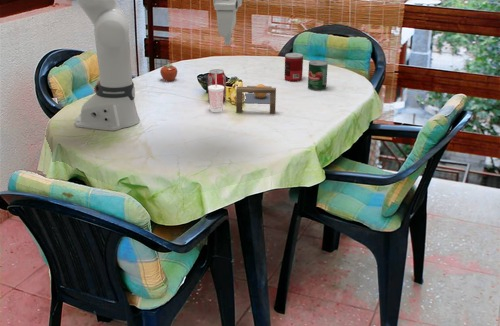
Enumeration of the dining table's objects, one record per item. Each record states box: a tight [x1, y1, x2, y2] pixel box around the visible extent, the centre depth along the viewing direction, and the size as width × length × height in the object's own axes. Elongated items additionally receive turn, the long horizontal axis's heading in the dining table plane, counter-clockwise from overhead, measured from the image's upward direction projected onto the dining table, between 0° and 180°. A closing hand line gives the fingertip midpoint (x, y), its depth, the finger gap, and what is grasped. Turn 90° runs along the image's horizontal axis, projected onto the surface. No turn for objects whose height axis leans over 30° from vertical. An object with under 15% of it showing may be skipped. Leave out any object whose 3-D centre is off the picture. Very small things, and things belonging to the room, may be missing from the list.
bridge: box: [235, 86, 277, 115], centre depth 231 cm, size 3×14×9 cm, turn 86°
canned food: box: [284, 52, 304, 83], centre depth 271 cm, size 8×8×11 cm
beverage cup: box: [207, 74, 224, 113], centre depth 231 cm, size 6×6×14 cm
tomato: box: [159, 62, 178, 82], centre depth 269 cm, size 7×7×8 cm
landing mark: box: [243, 92, 270, 105], centre depth 247 cm, size 12×12×1 cm
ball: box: [253, 84, 268, 98], centre depth 247 cm, size 6×6×6 cm
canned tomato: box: [307, 59, 329, 92], centre depth 259 cm, size 8×8×11 cm
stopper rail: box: [246, 85, 273, 88], centre depth 254 cm, size 10×2×2 cm, turn 86°
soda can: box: [207, 68, 227, 102], centre depth 242 cm, size 7×7×12 cm
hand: (227, 44), depth 198 cm, fingers closed
